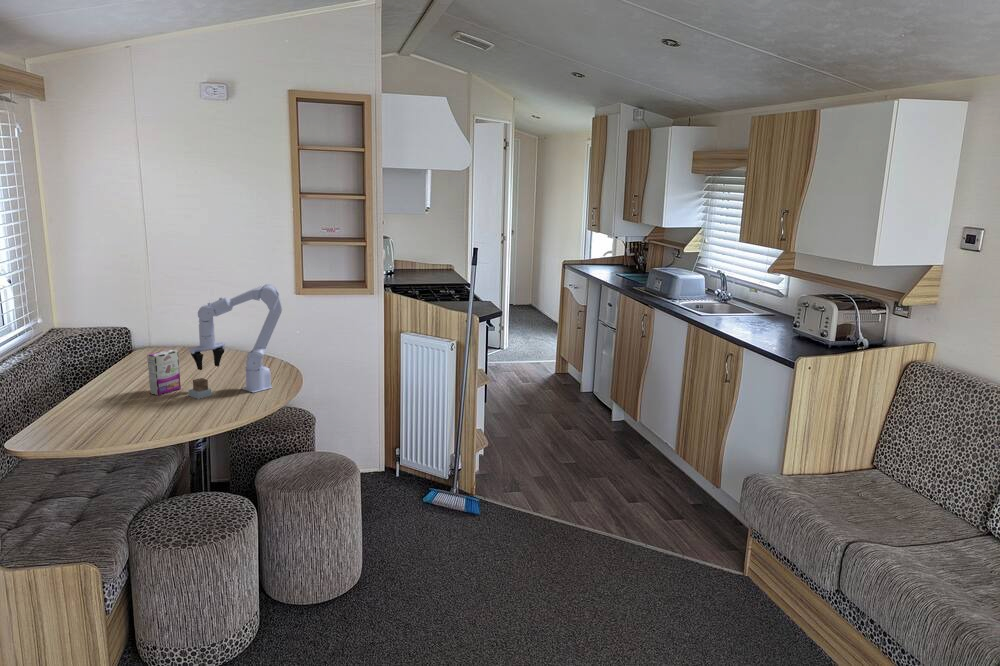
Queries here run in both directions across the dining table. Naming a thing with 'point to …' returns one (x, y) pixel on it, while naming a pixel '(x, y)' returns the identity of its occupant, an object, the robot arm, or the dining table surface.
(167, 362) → the candy bar box
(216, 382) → the dining table surface
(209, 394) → the base block
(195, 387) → the walnut cube
